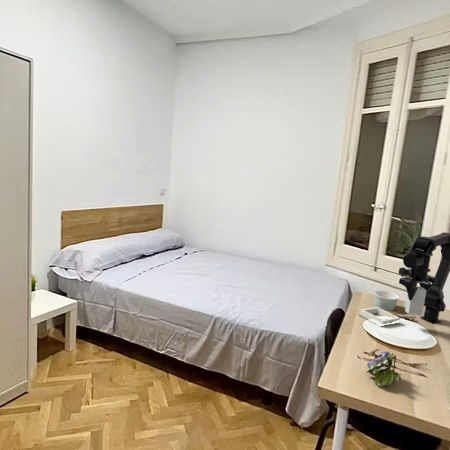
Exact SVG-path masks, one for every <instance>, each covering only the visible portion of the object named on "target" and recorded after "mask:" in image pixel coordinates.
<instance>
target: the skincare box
mask: <svg viewBox="0 0 450 450" xmlns="http://www.w3.org/2000/svg"><path fill="white" fill-rule="evenodd" d="M417 287H418V289H417V291H416V293H415V295H414V297H413V299H412V300H411V301H410V300H409V298H408V294H407V295H406V302H405V309H404V311H405V312H406V313H407V315H412V316H413V315H414V316H423V315H424V308H425V306H424V302H425V295H426V289H424V288H423V287H420V286H417Z"/></svg>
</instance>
